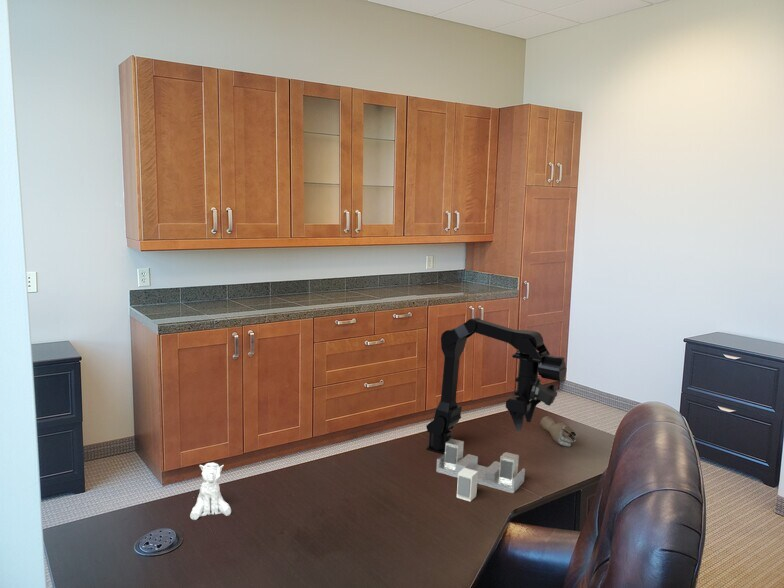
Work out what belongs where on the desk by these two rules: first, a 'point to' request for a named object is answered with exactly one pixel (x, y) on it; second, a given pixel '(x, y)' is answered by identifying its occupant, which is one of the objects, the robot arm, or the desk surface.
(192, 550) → the desk surface
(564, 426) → the mannequin hand
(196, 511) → the seated beast figurine
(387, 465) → the desk surface
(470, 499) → the white rectangular block
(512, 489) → the white slotted block stand
